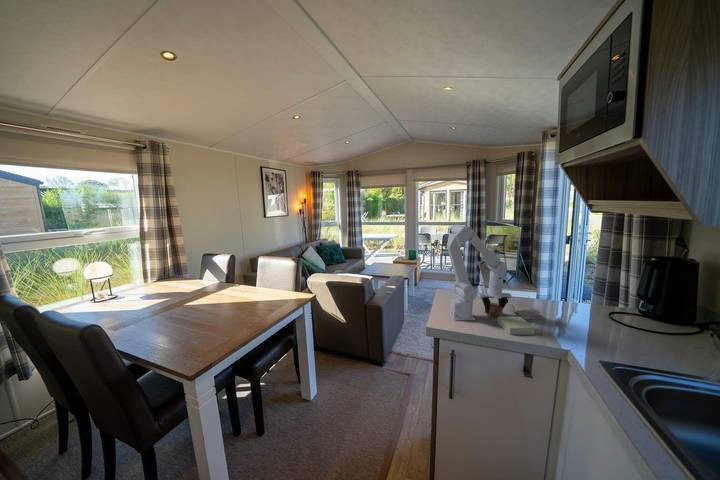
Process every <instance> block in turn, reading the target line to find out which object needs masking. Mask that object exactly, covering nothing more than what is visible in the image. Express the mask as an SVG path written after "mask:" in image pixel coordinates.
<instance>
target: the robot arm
mask: <svg viewBox="0 0 720 480" xmlns="http://www.w3.org/2000/svg"><path fill="white" fill-rule="evenodd" d="M467 242H470V243H471V245H473V246H474V248H475V249H476V250H477V251H478V252H479V257H480V258H481V259H482V261H484V263H485V264H486V265H487V269H488V270H489V281H488V282H489V283H488V290H487V291H488V292H479V293H477V291H476V290H475V289H474V287H473V285H472V283H471V281H470V280H469V277H468V273H467V270H466V269H467V268H466V264H465V262H464V258H463V257H464V256H463V254H462V250H461V249H462V246H464V245H465V244H467ZM446 248H447V249H446V250H447V253H448V255H449V259H450V262H451V267H452V270H453V274H454V277H455V281H454V289H453V291H454V292H455V295H456V298H451V299H450V307H449V315H450V316H451V317H452V319H453V320H454V321H476V318H475V317H474V316H473V308H474V307H473V305H474V301H475V300H476V298H477V296H478V298H479V299H481V300H482V303H483V306H484V313H485V312H487V313H489V306H490V303H492V301H491V300H490V299H497V300H498V301H497V303H498V304H499V305H500V306H501V307H502V308H503V310H504V308H505V307H506V305H507V304H508V303H509V299H512V294H511V293H509V292H503V287H504V286H503V285H504V278H505V274H506V273H507V271H508V267H507V265H506V263H505V262H503V261H502V260H501V257H500V256H497V254H496V253H495V252H496V251H495V250H494V249H492V248H489V247H488V248H487V247H486V246H485V244H484V243H483V242H482V240H481V239H480V237H479V236H478V234H477V233H476V232H475V230H473V228H472V227H470V226H468V225H467V226H466V225H461V224H458V223H456V224H453V225H452V226H451V227H450V228H449V230H448V237H447V243H446Z"/></svg>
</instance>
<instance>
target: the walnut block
mask: <svg viewBox="0 0 720 480" xmlns="http://www.w3.org/2000/svg"><path fill="white" fill-rule="evenodd" d="M503 310H504V309H503V308H502V307H501V306H500V305H499V303H498V302H491V303H490V306H489V313H487V312H485V311H484V313H485V314H486V315H487V316H488V317H489V318H495V319H496V318H497V319H498V317H503Z"/></svg>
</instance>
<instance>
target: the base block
mask: <svg viewBox="0 0 720 480" xmlns="http://www.w3.org/2000/svg"><path fill="white" fill-rule="evenodd" d="M497 324H498V325H499V326H500V327H501V328H502V329H503V330H504V331H505V332H506V333H508V335H509V336H510V335H511V336H512V335H513V336H514V335H518V336H521V335H522V336H523V335H527V336H528V335H532V336H533V335H535V329H536V328H535V326H533V325H532V324H531V323H529V322H528V321H527V320H525V319H523V318H521V317H517V316H502V317H498V318H497Z"/></svg>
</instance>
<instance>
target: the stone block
mask: <svg viewBox="0 0 720 480" xmlns="http://www.w3.org/2000/svg"><path fill="white" fill-rule="evenodd" d="M509 308H510V309H511V311H512V312H513V314H514V315H515V317H521V318H523V319H524V320H525V319H526V320H525V321H527V320H528V321H529V319H532V320H540V317H541V313H540V311H539V310H538V309H537V308H534V307H531V305H530V304H529V303H526V304H525V303H518V302H517V303H512V304H511V305H510V306H509Z"/></svg>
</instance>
